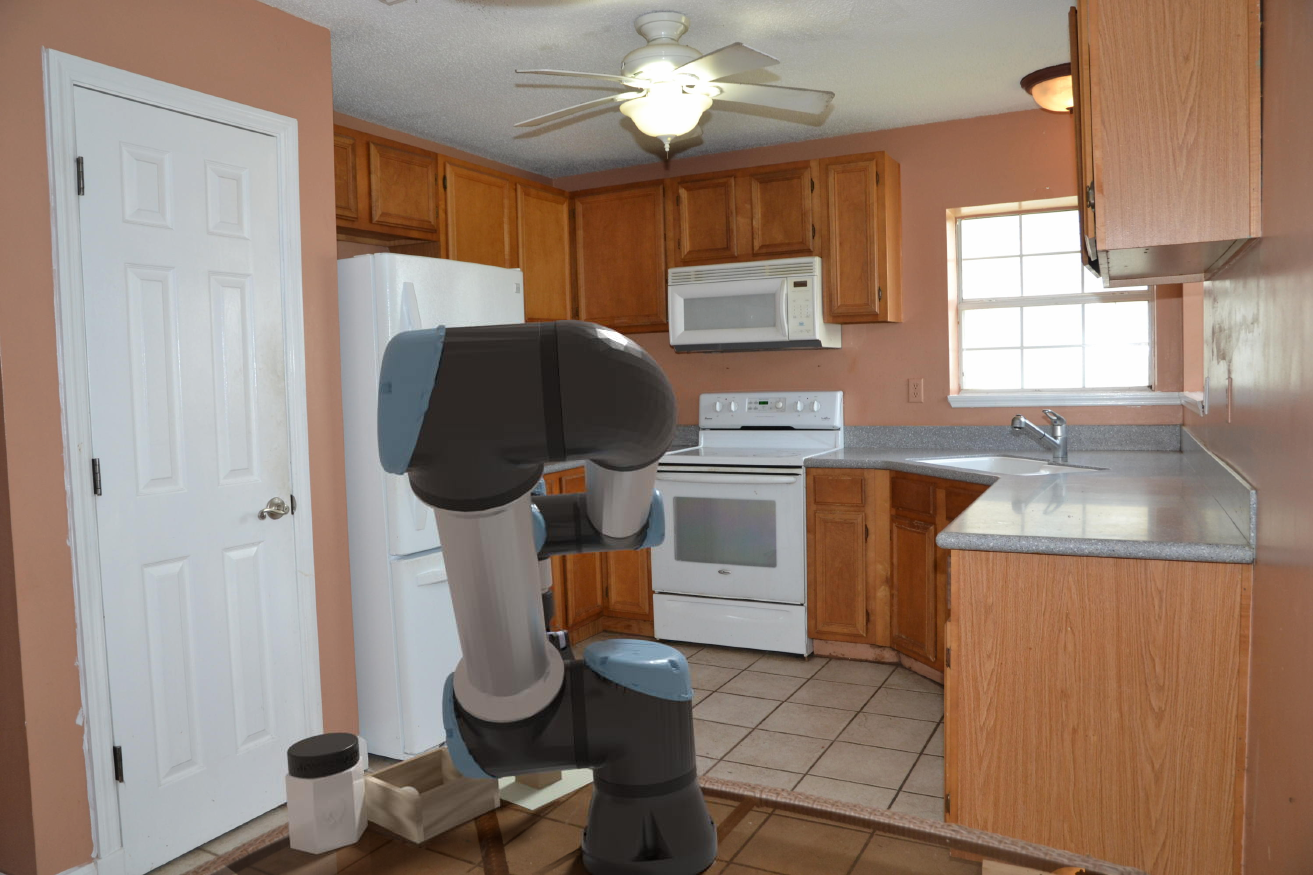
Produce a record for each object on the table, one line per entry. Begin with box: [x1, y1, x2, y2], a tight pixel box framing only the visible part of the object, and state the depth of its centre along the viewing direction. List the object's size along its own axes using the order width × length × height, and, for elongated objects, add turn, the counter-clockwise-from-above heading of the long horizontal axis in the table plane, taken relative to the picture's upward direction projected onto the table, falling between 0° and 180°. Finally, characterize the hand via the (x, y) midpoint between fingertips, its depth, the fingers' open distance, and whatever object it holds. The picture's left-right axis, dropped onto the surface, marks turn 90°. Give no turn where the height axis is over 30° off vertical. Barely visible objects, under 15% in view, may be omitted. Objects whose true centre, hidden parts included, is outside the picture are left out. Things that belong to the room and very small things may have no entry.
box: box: [364, 746, 501, 845], centre depth 112 cm, size 12×12×6 cm
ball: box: [401, 787, 419, 795], centre depth 113 cm, size 3×3×3 cm
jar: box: [284, 732, 369, 855], centre depth 107 cm, size 9×8×12 cm
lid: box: [498, 768, 593, 811], centre depth 120 cm, size 13×13×9 cm
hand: (535, 747), depth 120 cm, fingers open, 13 cm apart
